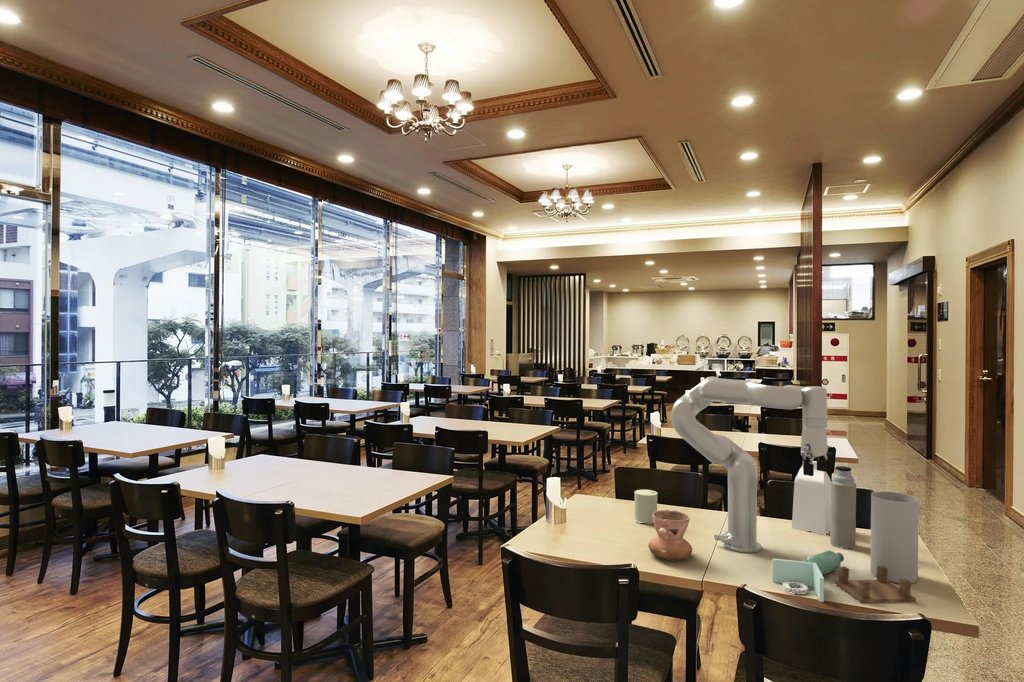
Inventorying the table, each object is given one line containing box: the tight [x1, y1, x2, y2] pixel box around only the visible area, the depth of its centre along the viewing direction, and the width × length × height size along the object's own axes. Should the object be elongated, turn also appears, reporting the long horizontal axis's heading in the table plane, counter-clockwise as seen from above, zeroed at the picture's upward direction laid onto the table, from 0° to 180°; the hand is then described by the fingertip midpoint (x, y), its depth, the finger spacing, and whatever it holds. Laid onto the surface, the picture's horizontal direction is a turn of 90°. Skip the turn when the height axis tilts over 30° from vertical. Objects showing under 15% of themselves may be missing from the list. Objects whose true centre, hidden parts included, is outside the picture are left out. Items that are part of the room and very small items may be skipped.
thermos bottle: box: [829, 465, 857, 549], centre depth 216 cm, size 8×8×28 cm
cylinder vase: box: [870, 491, 920, 584], centre depth 188 cm, size 12×12×25 cm
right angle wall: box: [771, 558, 825, 603], centre depth 177 cm, size 12×12×8 cm
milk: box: [791, 460, 832, 535], centre depth 235 cm, size 12×12×26 cm
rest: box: [833, 566, 917, 604], centre depth 177 cm, size 16×13×6 cm
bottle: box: [802, 550, 845, 576], centre depth 192 cm, size 16×6×6 cm, turn 123°
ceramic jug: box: [647, 509, 693, 561], centre depth 206 cm, size 18×14×14 cm
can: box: [633, 489, 658, 523], centre depth 244 cm, size 9×9×12 cm
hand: (815, 473), depth 205 cm, fingers open, 9 cm apart
